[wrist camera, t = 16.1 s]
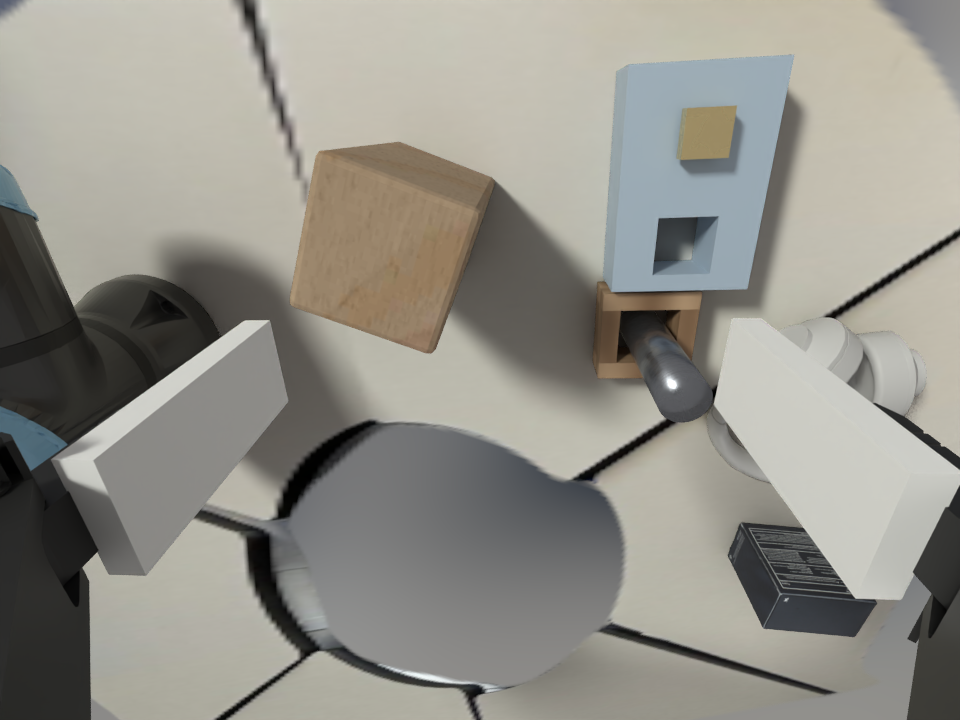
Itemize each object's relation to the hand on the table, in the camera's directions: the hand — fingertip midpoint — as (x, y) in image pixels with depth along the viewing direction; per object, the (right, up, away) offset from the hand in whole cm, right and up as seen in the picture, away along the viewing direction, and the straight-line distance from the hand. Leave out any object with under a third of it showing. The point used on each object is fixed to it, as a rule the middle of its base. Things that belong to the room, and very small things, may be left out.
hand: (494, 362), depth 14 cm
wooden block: (-5, +15, +34) cm, 37 cm away
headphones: (+34, -4, +40) cm, 52 cm away
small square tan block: (+17, +20, +28) cm, 38 cm away
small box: (+38, -24, +49) cm, 66 cm away
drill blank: (+16, +4, +37) cm, 40 cm away
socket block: (+18, +17, +31) cm, 39 cm away
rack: (+16, +4, +37) cm, 40 cm away
